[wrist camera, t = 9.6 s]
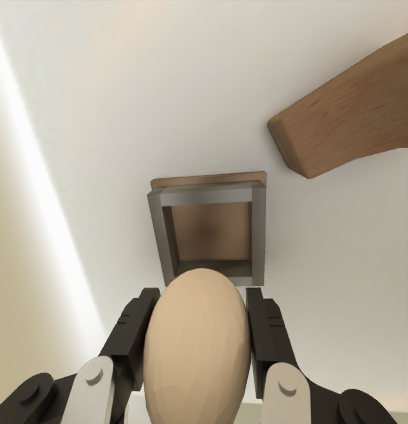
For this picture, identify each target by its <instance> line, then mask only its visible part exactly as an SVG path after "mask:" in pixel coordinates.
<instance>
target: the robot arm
mask: <svg viewBox="0 0 408 424" xmlns="http://www.w3.org/2000/svg"><path fill="white" fill-rule="evenodd" d="M160 296H161V295H160V290H159V288H144V289H143V290H142V292H141V294H140V296H139V298H133V299H132V300H131V301H130V302H129V303H128V304H127V305H126V307H125V308H124V310H123V312H122V314H121V317H120V318H119V319H118V321H117V324H116V325H115V327H114V328H113V330H112V332H111V334H110V336H109V337H108V339H107V341H106V343H105V345H104V347H103V348H102V350H101V352H100V354H99V355H98V357H96V358H94V359H92V360H90V361H89V362H87V363H86V364H85V365H84V366H83V367H82V368H81V369H80V371H79V372H78V373H76V374H73V375H70V376H67V377H64V378H61V379H58V380H53V378H52V376H51V375H50V374H48V373H40V374H37V375H34V376H32V377H31V378H29V379H27V380H26V381H25V382H23V383H22V384H21V385H20V386H19V387H18V388H17V389H16V390H15V391H14V392H13V393H12V394H11V395H10V396H9V397H8V398H7V399H6V400H5V401H4V402H3V403H2V404H0V424H127V423H128V411H129V404H128V400H129V397H130V394H131V391H140V390H141V387H142V384H143V353H144V345H145V336H146V333H147V329H148V326H149V322H150V319H151V316H152V313H153V311H154V308H155V306H156V304H157V302H158V300H159V298H160ZM246 310H247V313H248V317H249V323H250V332H251V359H252V367H253V375H254V383H255V392H256V399H262V400H263V406H262V414H261V422H260V424H397V423H396V421H395V420H394V419H393V418H392V417H391V415H390V414H389V413H388V411H387V410H386V409H385V408H384V407H383V406H382V405H381V404H380V403H379V402H378V401H377V400H376V399H374V398H373V397H372V396H370V395H369V394H367V393H365V392H363V391H360V390H356V389H348V390H345V391H344V392H342V394H338V393H336V392H333V391H331V390H328V389H326V388H323V387H321V386H319V385H317V384H315V383H313V382H312V381H311V380H309V379H308V378H307V377H306V376H305V375H304V374H303V373H302V371H301V370H300V368H299V366H298V364H297V362H296V359H295V356H294V353H293V349H292V346H291V343H290V340H289V337H288V334H287V330H286V328H285V324H284V321H283V319H282V314H281V311H280V308H279V306H278V305H277V304H276V303H275V301H274V300H273V299H263V296H262V291H261V288H246Z"/></svg>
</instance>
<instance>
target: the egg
mask: <svg viewBox="0 0 408 424" xmlns="http://www.w3.org/2000/svg"><path fill="white" fill-rule="evenodd" d="M250 365H251V332H250V323H249V317H248V313H247V310H246V307H245V304H244V302H243V299H242V297H241V295H240V293H239V291H238V290H237V289H236V287H235V286H234V285H233V283H232V282H231V281H230V280H229V279H228V278H227V277H225V276H224V275H223V274H221V273H219V272H217V271H214V270H211V269H205V268H198V269H194V270H190V271H187V272H185V273H183V274H181V275H180V276H179V277H177V278H176V279H175V280H174V281H172V282H171V283H170V284H169V286H168V287H167V288H166V289H165V291H164V292H163V293H162V295H161V296H160V298H159V300H158V302H157V304H156V306H155V308H154V311H153V313H152V316H151V319H150V322H149V326H148V329H147V333H146V336H145V345H144V353H143V381H144V391H145V398H146V408H147V411H148V414H149V417H150V420H151V423H152V424H233V423H234V420H235V417H236V414H237V412H238V409H239V407H240V404H241V402H242V399H243V397H244V393H245V389H246V384H247V379H248V374H249V370H250Z"/></svg>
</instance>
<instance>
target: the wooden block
mask: <svg viewBox="0 0 408 424" xmlns="http://www.w3.org/2000/svg"><path fill="white" fill-rule="evenodd" d="M268 128H269V130H270V132H271V134H272V136H273V138H274V140H275V142H276V144H277V146H278V148H279V150H280V152H281V154H282V156H283V158H284V160H285V162H286V164H287V166H288V167H289V168H290V169H291V170H293V171H295V172H297V173H298V174H300V175H302V176H303V177H305V178H307V179H311V178H314V177H316V176H319V175H321V174H323V173H325V172H327V171H330V170H332V169H334V168H336V167H338V166H341V165H343V164H345V163H347V162H350V161H352V160H354V159H357V158H361V157H365V156H369V155H373V154H377V153H380V152H384V151H388V150H392V149H396V148H407V147H408V33H407V34H406V35H404V36H402V37H400V38H398V39H396V40H394V41H392V42H390V43H389V44H387V45H385V46H383V47H382V48H380V49H378V50H377V51H375V52H374V53H372V54H371V55H369V56H368V57H366V58H364V59H363V60H361V61H360V62H358V63H357V64H355V65H354V66H352V67H350V68H349V69H347V70H346V71H344V72H343V73H341V74H340V75H338V76H336V77H335V78H333V79H332V80H330V81H329V82H327V83H326V84H324V85H322V86H321V87H319V88H318V89H316V90H315V91H313V92H312V93H310V94H309V95H307V96H305V97H304V98H302V99H301V100H299V101H298V102H296V103H295V104H293V105H291V106H290V107H288V108H287V109H285V110H284V111H282V112H281V113H279V114H277V115H276V116H274V117H273V118H271V119H270V120H269V122H268Z"/></svg>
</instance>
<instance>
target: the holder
mask: <svg viewBox="0 0 408 424" xmlns="http://www.w3.org/2000/svg"><path fill="white" fill-rule="evenodd" d="M151 187H152V191H151V192H150V193H149V194H148V195H147V197H148V202H149V207H150V212H151V217H152V222H153V227H154V232H155V237H156V242H157V247H158V252H159V257H160V262H161V267H162V272H163V277H164V282H165V286H166V287H168V286H169V284H170V283H171V282H172V281H174V280H175V279H176V278H177V277H179V276H180V275H181V274H183V273H185V272H187V271H190V270H194V269H198V268H205V269H211V270H214V271H217V272H219V273H221V274H223V275H224V276H225V277H227V278H228V279H229V280H230V281H231V282H232V283H233V285H234V286H264V261H265V216H266V172H265V171H260V172H246V173H232V174H218V175H204V176H191V177H177V178H163V179H154V180H152V181H151Z"/></svg>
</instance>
